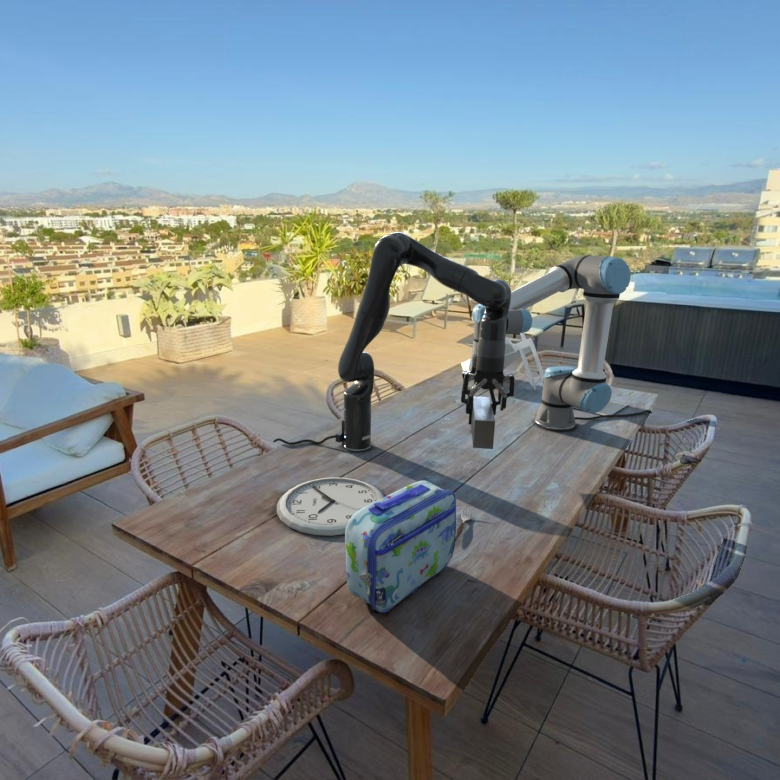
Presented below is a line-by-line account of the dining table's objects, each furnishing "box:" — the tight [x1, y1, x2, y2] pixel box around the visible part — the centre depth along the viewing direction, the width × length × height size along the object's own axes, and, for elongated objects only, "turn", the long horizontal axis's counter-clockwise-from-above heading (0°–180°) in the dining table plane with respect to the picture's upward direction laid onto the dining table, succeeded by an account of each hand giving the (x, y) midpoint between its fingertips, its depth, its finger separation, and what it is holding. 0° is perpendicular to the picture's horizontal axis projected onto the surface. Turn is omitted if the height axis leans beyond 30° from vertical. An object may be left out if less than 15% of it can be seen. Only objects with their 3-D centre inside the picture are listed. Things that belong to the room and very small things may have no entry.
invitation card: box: [573, 400, 629, 416], centre depth 226 cm, size 21×1×15 cm
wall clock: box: [276, 476, 386, 537], centre depth 142 cm, size 30×2×30 cm
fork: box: [455, 504, 474, 543], centre depth 133 cm, size 3×16×2 cm, turn 160°
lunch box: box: [344, 480, 457, 614], centre depth 109 cm, size 26×11×21 cm, turn 135°
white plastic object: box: [460, 332, 545, 391], centre depth 259 cm, size 37×45×31 cm
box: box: [470, 396, 496, 450], centre depth 162 cm, size 22×6×9 cm, turn 173°
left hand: (486, 409), depth 149 cm, fingers open, 8 cm apart
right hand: (479, 423), depth 171 cm, fingers closed on box, 6 cm apart
